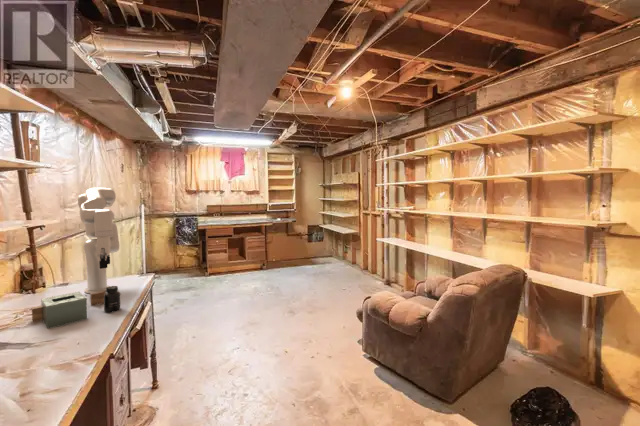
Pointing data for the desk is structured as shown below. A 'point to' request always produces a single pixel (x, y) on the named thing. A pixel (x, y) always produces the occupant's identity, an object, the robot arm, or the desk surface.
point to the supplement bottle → (111, 299)
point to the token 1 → (37, 313)
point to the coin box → (63, 309)
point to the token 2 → (97, 298)
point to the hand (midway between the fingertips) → (105, 266)
